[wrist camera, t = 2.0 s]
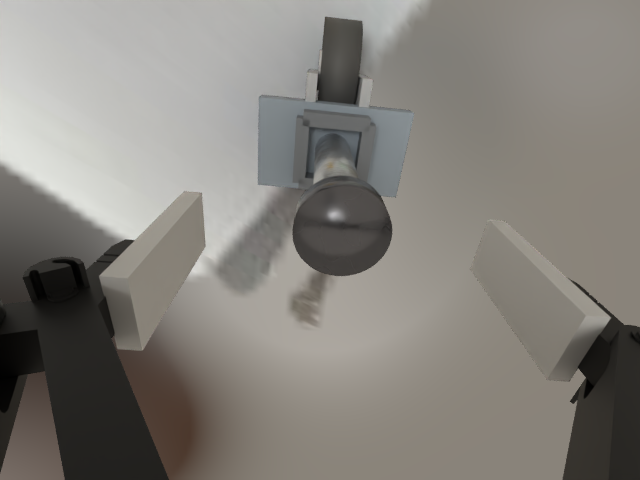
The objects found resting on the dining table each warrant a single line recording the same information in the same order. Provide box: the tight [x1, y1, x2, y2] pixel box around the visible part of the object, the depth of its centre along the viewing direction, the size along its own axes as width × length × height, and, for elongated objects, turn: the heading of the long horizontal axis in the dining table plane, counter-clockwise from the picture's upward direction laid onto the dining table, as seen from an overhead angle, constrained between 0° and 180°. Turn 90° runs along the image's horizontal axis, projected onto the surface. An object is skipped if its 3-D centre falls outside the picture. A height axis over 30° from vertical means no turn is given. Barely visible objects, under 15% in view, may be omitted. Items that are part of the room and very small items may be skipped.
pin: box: [293, 133, 392, 276], centre depth 22 cm, size 4×4×15 cm
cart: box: [258, 17, 414, 197], centre depth 30 cm, size 12×13×11 cm
